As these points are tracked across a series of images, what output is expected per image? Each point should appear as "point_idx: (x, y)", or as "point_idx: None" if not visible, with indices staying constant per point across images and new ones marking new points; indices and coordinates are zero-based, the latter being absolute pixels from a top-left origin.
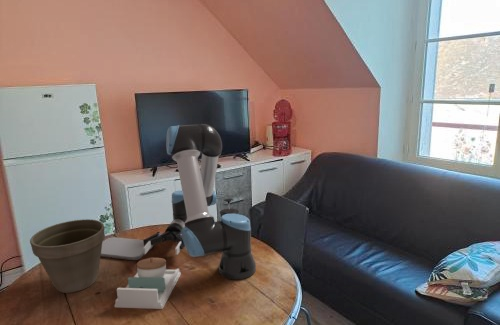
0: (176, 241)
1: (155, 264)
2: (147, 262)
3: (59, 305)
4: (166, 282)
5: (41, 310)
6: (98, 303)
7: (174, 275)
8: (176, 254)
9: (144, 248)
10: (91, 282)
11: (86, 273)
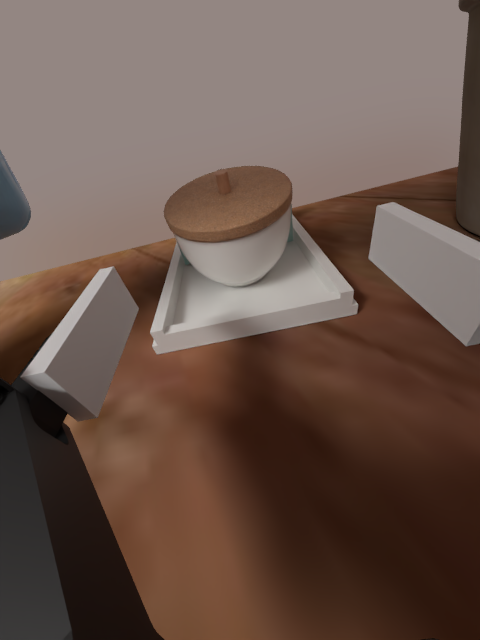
0: (151, 629)
1: (194, 184)
2: (238, 183)
3: (429, 192)
4: (195, 288)
5: (446, 181)
6: (341, 217)
7: (164, 295)
8: (134, 309)
9: (380, 209)
10: (461, 215)
11: (460, 152)
